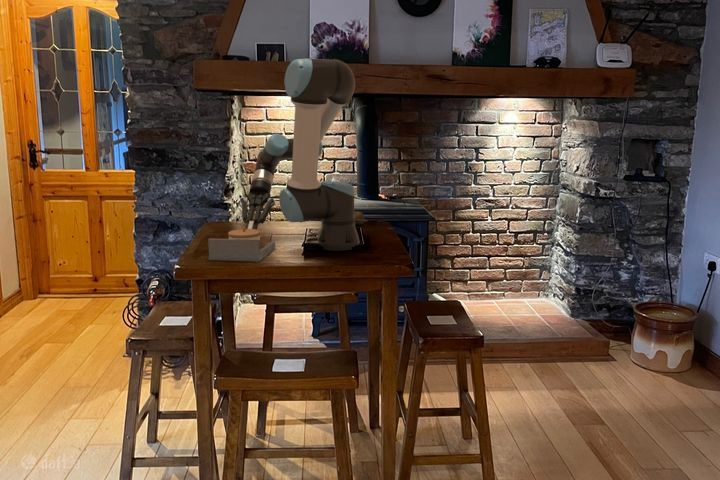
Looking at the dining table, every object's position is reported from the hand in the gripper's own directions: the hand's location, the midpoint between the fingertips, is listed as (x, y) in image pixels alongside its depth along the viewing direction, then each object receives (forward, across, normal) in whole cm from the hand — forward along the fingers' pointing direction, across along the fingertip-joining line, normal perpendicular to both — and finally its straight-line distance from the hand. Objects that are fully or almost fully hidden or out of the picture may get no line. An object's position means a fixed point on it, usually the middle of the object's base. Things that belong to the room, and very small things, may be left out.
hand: (248, 238), depth 226 cm
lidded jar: (+8, -1, +2) cm, 8 cm away
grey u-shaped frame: (+7, 0, +1) cm, 7 cm away
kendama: (-30, -26, -36) cm, 53 cm away
